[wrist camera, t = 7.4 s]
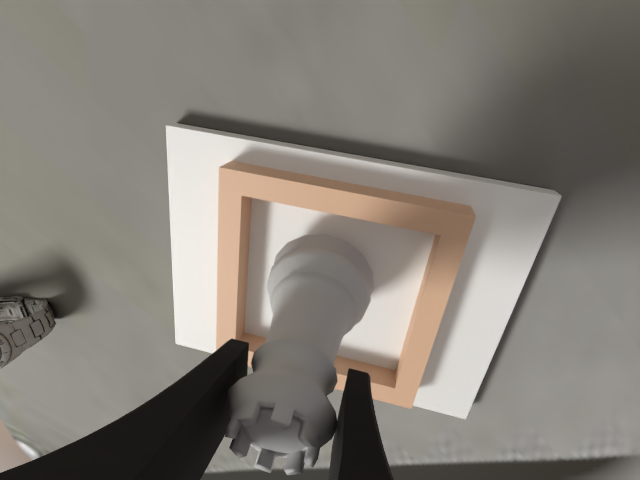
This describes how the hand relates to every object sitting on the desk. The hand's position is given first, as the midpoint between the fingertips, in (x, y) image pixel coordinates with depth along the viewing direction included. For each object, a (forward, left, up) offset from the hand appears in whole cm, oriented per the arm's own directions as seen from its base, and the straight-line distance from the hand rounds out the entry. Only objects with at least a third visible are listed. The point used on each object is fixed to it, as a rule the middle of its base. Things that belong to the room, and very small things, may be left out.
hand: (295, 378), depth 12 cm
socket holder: (0, 0, -7) cm, 7 cm away
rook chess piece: (0, -1, -6) cm, 6 cm away
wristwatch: (+19, +7, -7) cm, 21 cm away
